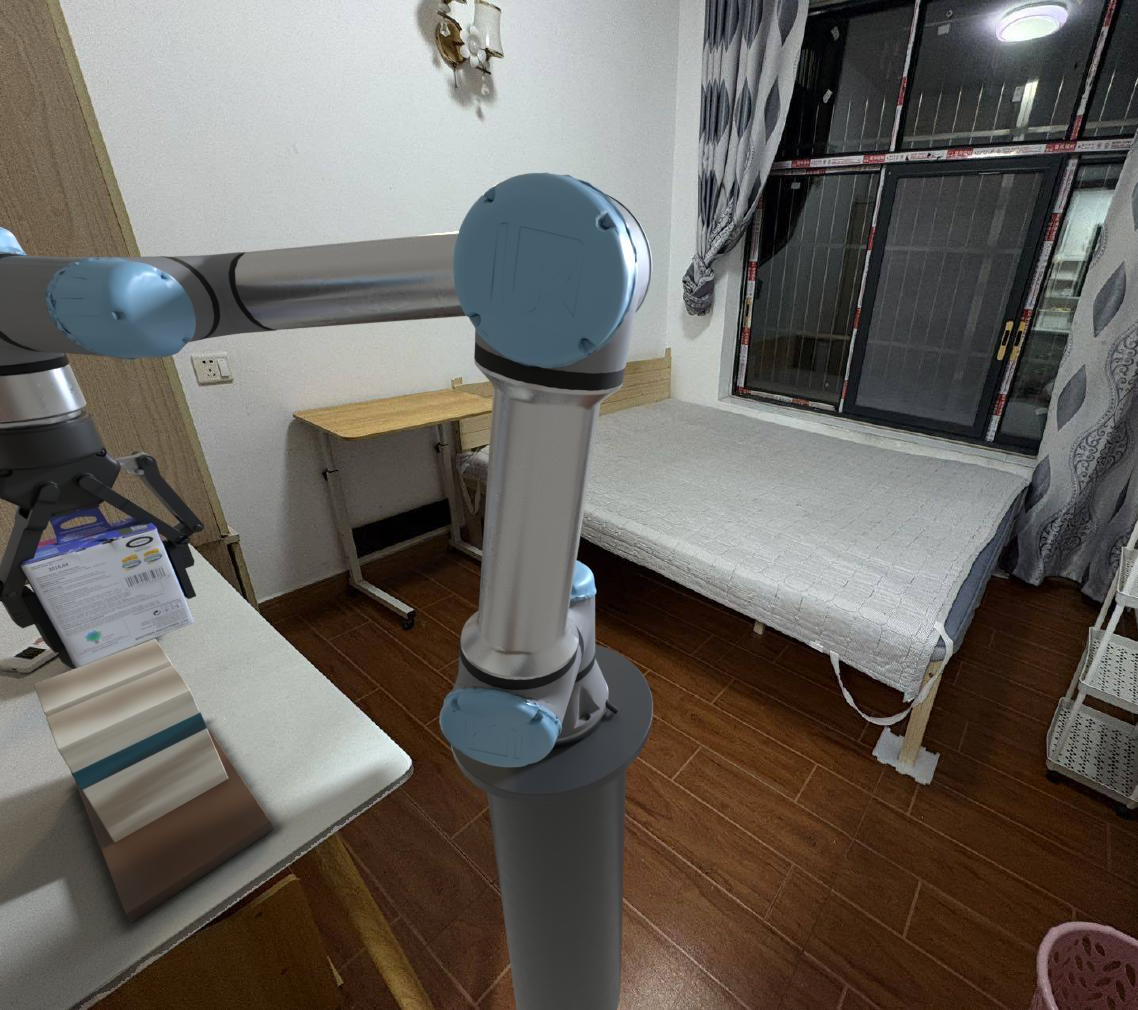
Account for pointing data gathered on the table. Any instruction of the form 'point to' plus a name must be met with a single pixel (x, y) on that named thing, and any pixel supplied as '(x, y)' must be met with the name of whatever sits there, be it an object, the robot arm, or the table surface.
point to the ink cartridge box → (106, 585)
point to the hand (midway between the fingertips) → (126, 618)
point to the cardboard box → (149, 774)
